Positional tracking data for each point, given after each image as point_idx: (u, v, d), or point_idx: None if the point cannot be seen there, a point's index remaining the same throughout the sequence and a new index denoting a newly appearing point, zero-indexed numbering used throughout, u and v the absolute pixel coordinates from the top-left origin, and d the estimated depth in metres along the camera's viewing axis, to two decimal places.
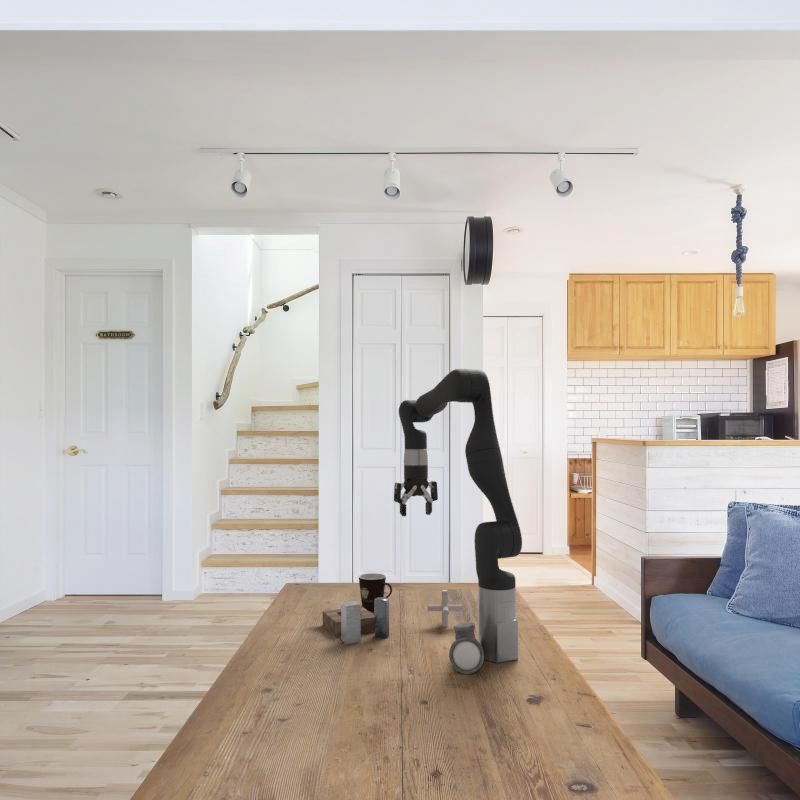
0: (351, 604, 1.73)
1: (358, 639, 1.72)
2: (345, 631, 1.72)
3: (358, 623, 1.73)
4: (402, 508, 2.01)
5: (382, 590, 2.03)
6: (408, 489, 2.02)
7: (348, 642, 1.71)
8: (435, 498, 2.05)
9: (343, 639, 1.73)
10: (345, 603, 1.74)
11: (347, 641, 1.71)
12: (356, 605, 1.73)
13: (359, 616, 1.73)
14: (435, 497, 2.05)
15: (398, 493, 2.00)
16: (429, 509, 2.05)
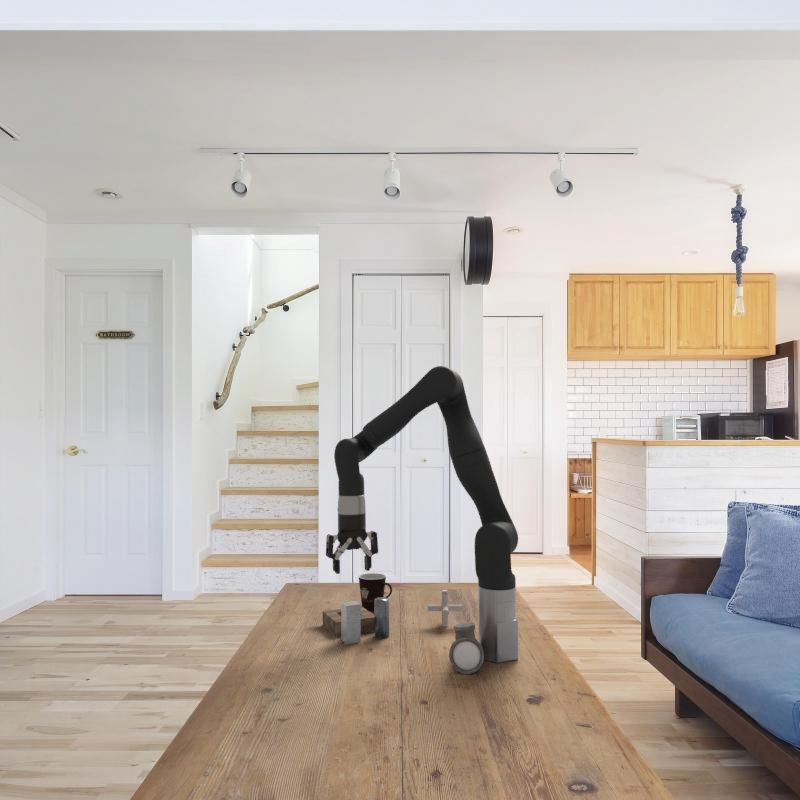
0: (351, 604, 1.73)
1: (358, 639, 1.72)
2: (345, 631, 1.72)
3: (358, 623, 1.73)
4: (335, 564, 1.74)
5: (382, 590, 2.03)
6: (342, 542, 1.74)
7: (348, 642, 1.71)
8: (375, 551, 1.78)
9: (343, 639, 1.73)
10: (345, 603, 1.74)
11: (347, 641, 1.71)
12: (356, 605, 1.73)
13: (359, 616, 1.73)
14: (375, 550, 1.78)
15: (330, 547, 1.73)
16: (368, 564, 1.77)
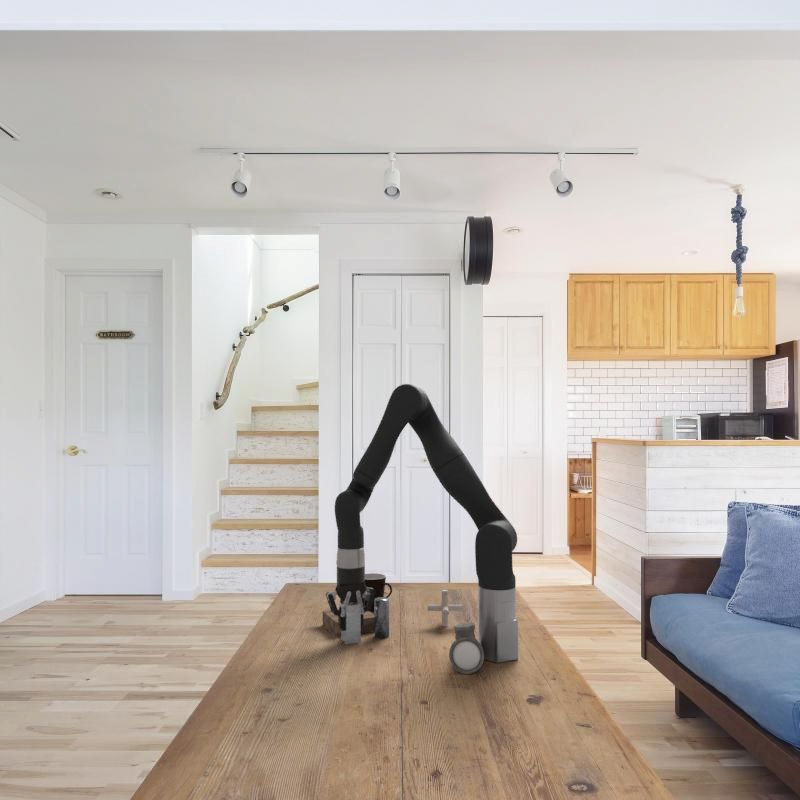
0: (351, 604, 1.73)
1: (358, 639, 1.72)
2: (345, 631, 1.72)
3: (358, 623, 1.73)
4: (341, 621, 1.72)
5: (382, 590, 2.03)
6: (342, 598, 1.72)
7: (348, 642, 1.71)
8: (367, 608, 1.75)
9: (343, 639, 1.73)
10: None
11: (347, 641, 1.71)
12: (356, 605, 1.73)
13: (359, 616, 1.73)
14: (367, 607, 1.75)
15: (333, 605, 1.71)
16: None
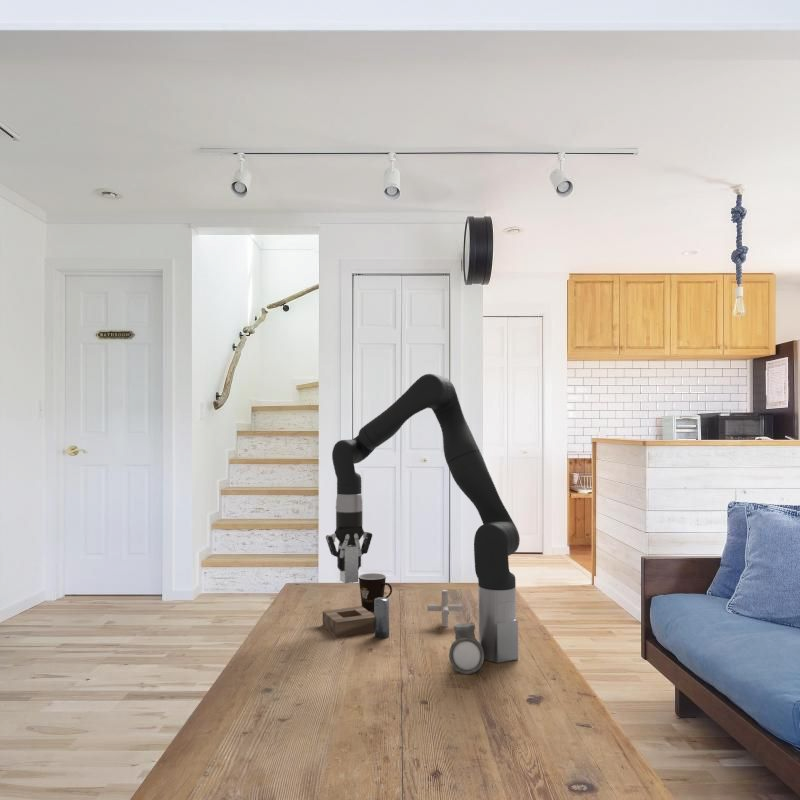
0: (349, 546, 1.84)
1: (356, 579, 1.84)
2: (343, 571, 1.83)
3: (356, 564, 1.84)
4: (340, 562, 1.83)
5: (382, 590, 2.03)
6: (341, 540, 1.83)
7: (346, 581, 1.83)
8: (364, 551, 1.86)
9: (342, 579, 1.85)
10: None
11: (345, 580, 1.83)
12: (354, 547, 1.84)
13: (356, 557, 1.84)
14: (364, 550, 1.86)
15: (332, 547, 1.82)
16: None
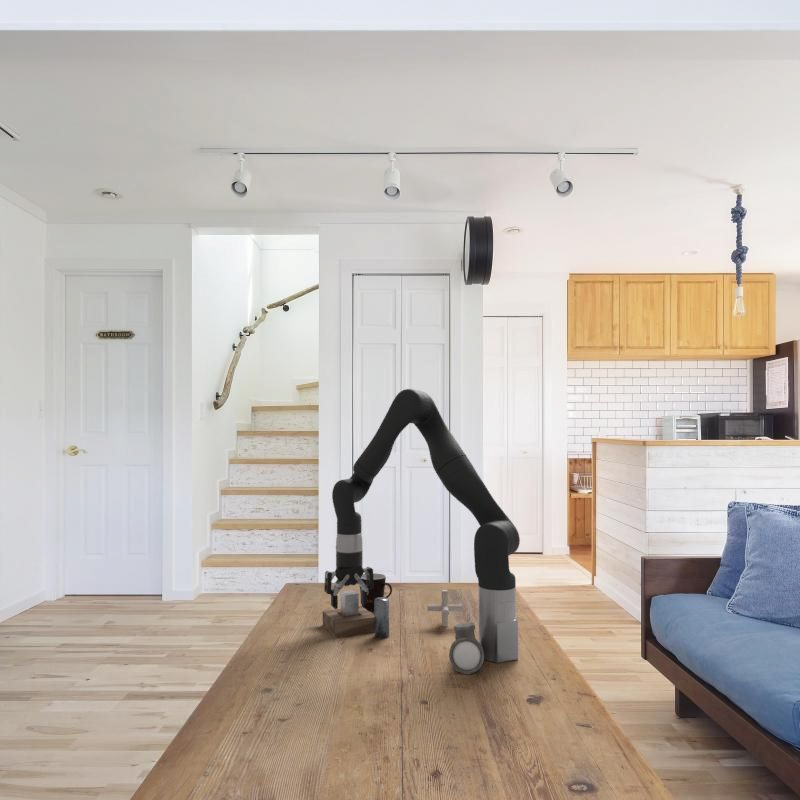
0: (350, 593, 1.84)
1: None
2: None
3: (356, 611, 1.83)
4: (333, 600, 1.82)
5: (382, 590, 2.03)
6: (340, 578, 1.83)
7: None
8: (371, 587, 1.87)
9: None
10: (344, 592, 1.85)
11: None
12: (354, 594, 1.83)
13: (357, 605, 1.84)
14: (371, 585, 1.87)
15: (328, 584, 1.81)
16: (364, 599, 1.86)
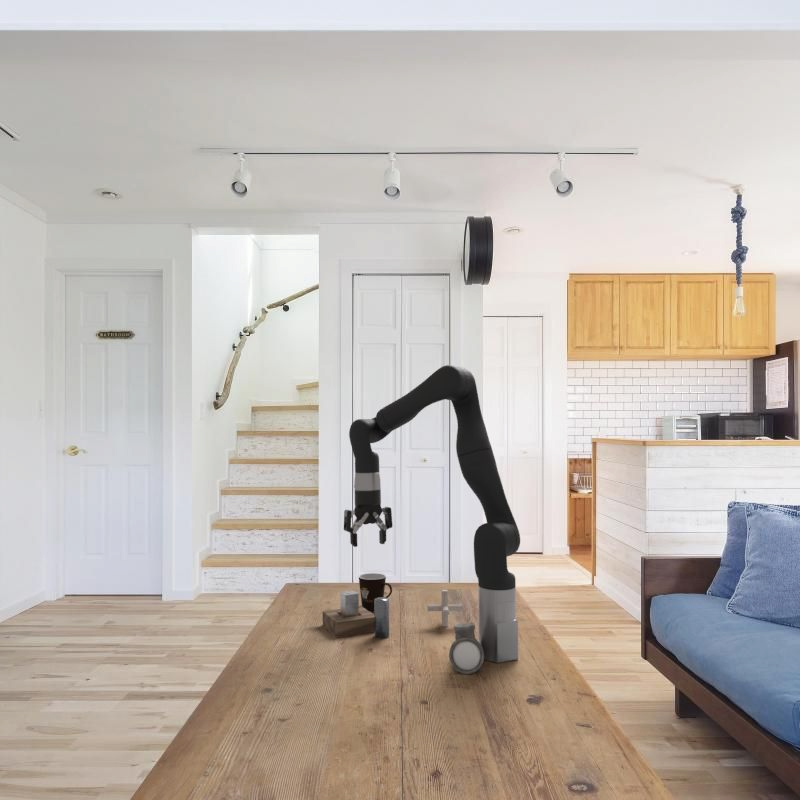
0: (350, 593, 1.84)
1: None
2: None
3: (356, 611, 1.83)
4: (353, 538, 1.84)
5: (382, 590, 2.03)
6: (359, 517, 1.84)
7: None
8: (389, 525, 1.88)
9: None
10: (344, 592, 1.85)
11: None
12: (354, 594, 1.83)
13: (357, 605, 1.84)
14: (389, 524, 1.88)
15: (348, 521, 1.83)
16: (383, 538, 1.87)
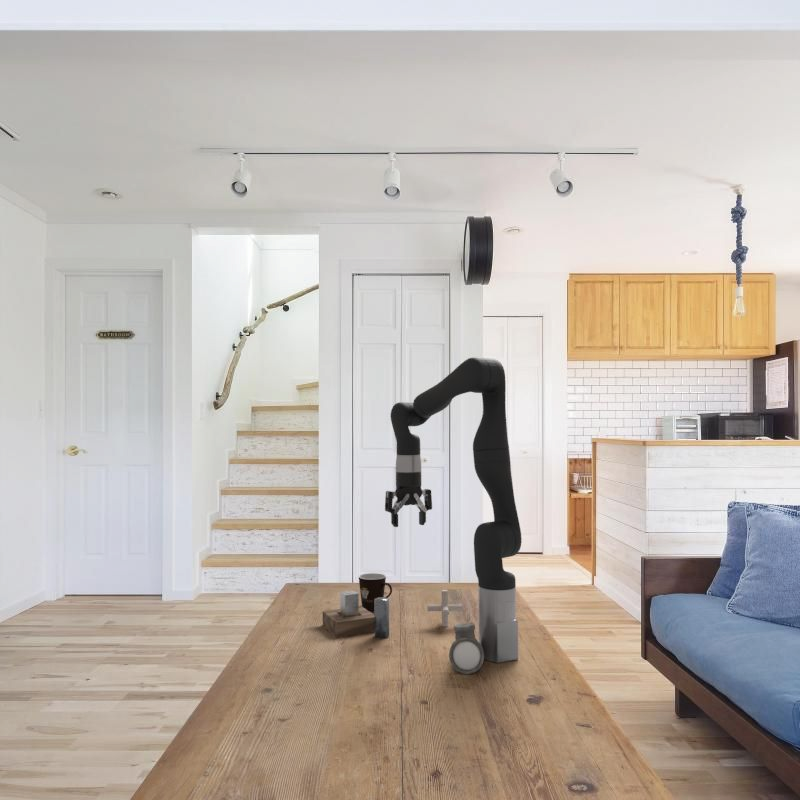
0: (350, 593, 1.84)
1: None
2: None
3: (356, 611, 1.83)
4: (394, 518, 1.88)
5: (382, 590, 2.03)
6: (400, 498, 1.88)
7: None
8: (429, 507, 1.92)
9: None
10: (344, 592, 1.85)
11: None
12: (354, 594, 1.83)
13: (357, 604, 1.84)
14: (429, 506, 1.92)
15: (389, 502, 1.87)
16: (423, 519, 1.91)
